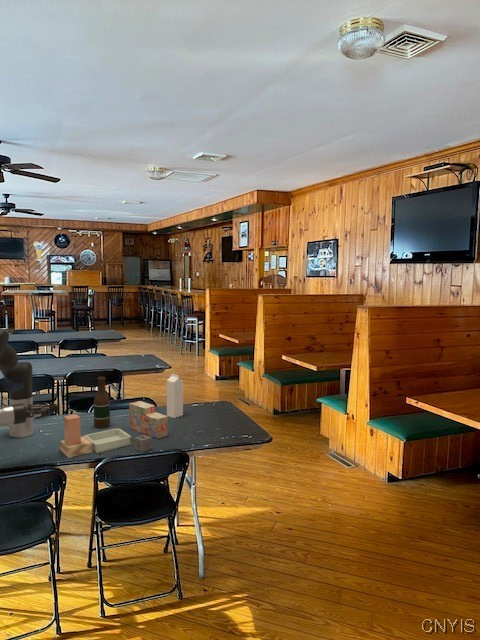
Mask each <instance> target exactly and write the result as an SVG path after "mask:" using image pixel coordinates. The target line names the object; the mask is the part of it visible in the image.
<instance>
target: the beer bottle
mask: <svg viewBox="0 0 480 640" xmlns="http://www.w3.org/2000/svg"><path fill="white" fill-rule="evenodd" d="M106 390H107V389H106V377H105V376H98V377H97V393H96V395H95V397H94V400H93V424H94V425H93V426H94V428H97V429H105V428H109V427H110V425H111V400H110V397H109V395H108V394H107V391H106Z"/></svg>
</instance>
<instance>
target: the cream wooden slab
mask: <svg viewBox="0 0 480 640" xmlns="http://www.w3.org/2000/svg"><path fill="white" fill-rule="evenodd" d="M59 447H60V449H59V450H60V451H61V452H62V454H64V455H65V456H66V457H67V458H68V459H70V458H74V456H75V457H78V456H82V455H86V454H90V453H91V454H92V453H94V451H93V443H92V442H91V441H90V440H88V439H87V438H86V437H85V436H84V435H83V436H82V435H81V443H79V444H75V445H70V446H68V445H67V444H66V443H65V442H64V439H63V440H59Z"/></svg>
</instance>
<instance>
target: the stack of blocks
mask: <svg viewBox="0 0 480 640" xmlns="http://www.w3.org/2000/svg"><path fill="white" fill-rule="evenodd" d="M128 407H129V408H128V409H129V410H128V411H129V428H130V429H132V430H133V431H137V432H139V433H142V434H143V435H146V436H149V437H152V438H154V439H161V438H164V437H166V436H168V422H169V418H168V417H169V416H167V414H162V413H159V412H156V405H154V404H151V403H148V402H144V401H142V400H139V401H134V402H129V406H128Z"/></svg>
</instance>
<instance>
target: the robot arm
mask: <svg viewBox="0 0 480 640" xmlns="http://www.w3.org/2000/svg"><path fill="white" fill-rule="evenodd" d="M9 340H10V334H9V331H8V330H6V329H4V328H0V372H1V374H2V375H3V376H4V379H5V380H6V381H7V382H8V383H10V384H18V383H20V384H22V386H21V387H18V388H16V389H13V390H11V391H10V392H9V404H8V405H2V406H0V428H1V427H8V428H9V429H8V432H9V433H8V434H9V437H13V438H16V439H17V438H25V437H26V438H27V437H30V436H32V435H33V434H34V418H36V419H37V420H39V419H42V418H45V417H46V416H49V415H50V413H55V412H59V411H60V406H59V405H58V404H57V403H52V404H44V403H33V401H34V400H33V366H32V362H29V361H23V362H22V361H19V355H18V353H17V351H16V349H14V348H13V347H12V346H11V345H10V344H8V342H9Z"/></svg>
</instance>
